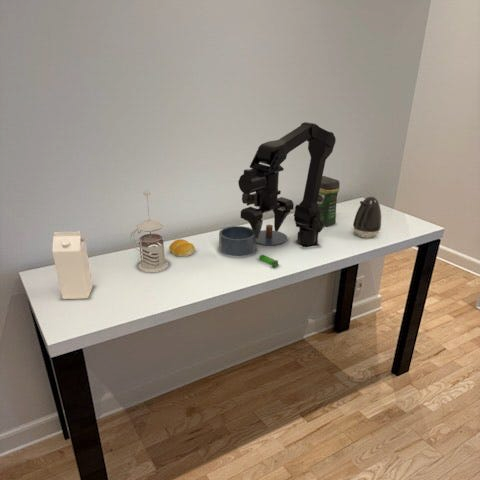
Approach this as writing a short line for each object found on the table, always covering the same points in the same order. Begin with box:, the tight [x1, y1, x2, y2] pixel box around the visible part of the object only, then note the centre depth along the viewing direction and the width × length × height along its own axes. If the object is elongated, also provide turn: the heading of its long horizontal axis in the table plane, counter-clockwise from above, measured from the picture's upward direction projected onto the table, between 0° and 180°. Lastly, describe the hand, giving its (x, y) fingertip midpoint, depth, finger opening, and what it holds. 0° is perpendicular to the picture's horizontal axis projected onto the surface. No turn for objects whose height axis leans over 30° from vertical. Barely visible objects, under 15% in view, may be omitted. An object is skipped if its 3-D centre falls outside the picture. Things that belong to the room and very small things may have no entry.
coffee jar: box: [317, 175, 341, 227], centre depth 177 cm, size 10×8×19 cm
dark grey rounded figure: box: [352, 196, 382, 239], centre depth 167 cm, size 10×10×15 cm
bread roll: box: [168, 238, 196, 258], centre depth 154 cm, size 8×9×4 cm
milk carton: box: [51, 231, 94, 300], centre depth 125 cm, size 7×7×19 cm
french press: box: [130, 190, 169, 273], centre depth 140 cm, size 10×12×25 cm
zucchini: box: [258, 254, 279, 268], centre depth 147 cm, size 8×2×2 cm, turn 44°
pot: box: [218, 225, 257, 257], centre depth 156 cm, size 13×13×6 cm
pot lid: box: [256, 224, 289, 247], centre depth 164 cm, size 14×14×6 cm
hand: (266, 234), depth 144 cm, fingers open, 9 cm apart
